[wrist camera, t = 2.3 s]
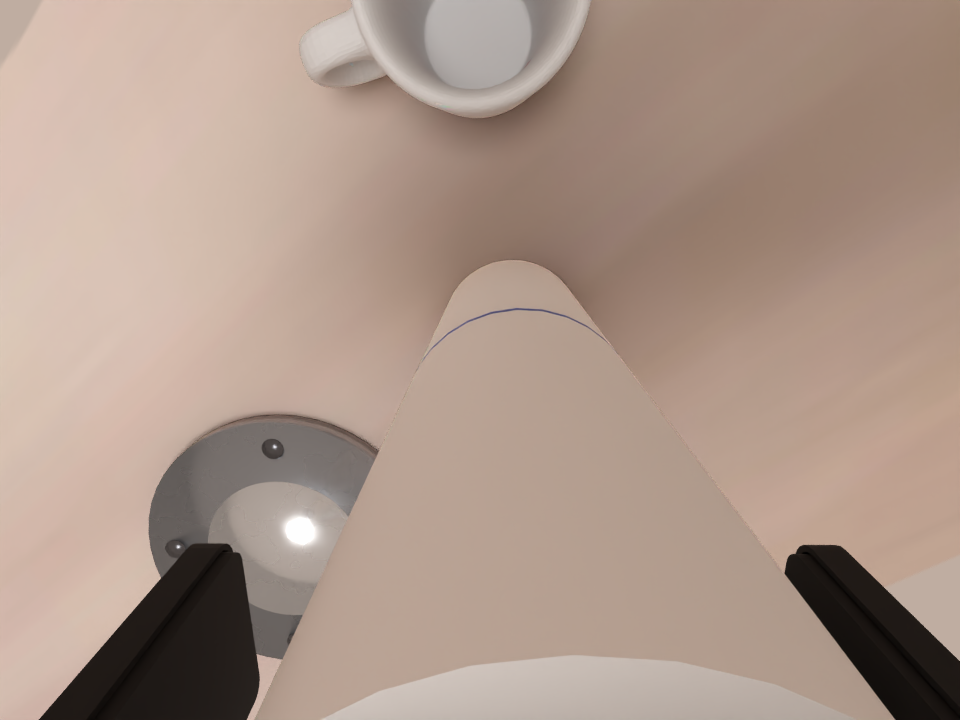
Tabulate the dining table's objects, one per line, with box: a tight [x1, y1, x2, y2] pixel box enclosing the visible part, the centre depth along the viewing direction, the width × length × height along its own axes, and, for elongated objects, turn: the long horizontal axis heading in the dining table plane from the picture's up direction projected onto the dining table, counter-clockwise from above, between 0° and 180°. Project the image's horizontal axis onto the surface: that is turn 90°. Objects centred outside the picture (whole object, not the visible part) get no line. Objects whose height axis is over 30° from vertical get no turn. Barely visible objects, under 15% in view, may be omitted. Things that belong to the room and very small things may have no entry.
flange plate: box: [149, 415, 378, 659], centre depth 32 cm, size 16×16×1 cm
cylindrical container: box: [255, 260, 895, 720], centre depth 17 cm, size 7×7×25 cm
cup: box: [299, 0, 591, 118], centre depth 21 cm, size 11×8×8 cm
